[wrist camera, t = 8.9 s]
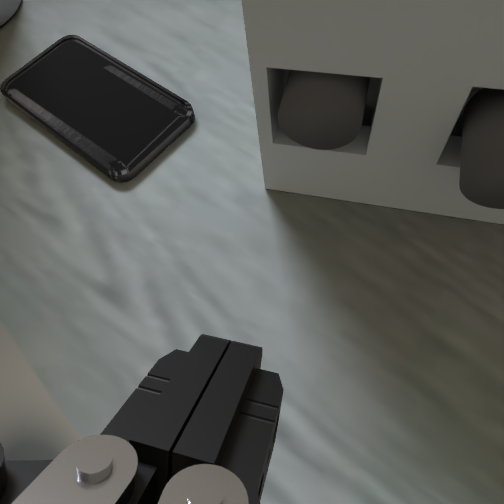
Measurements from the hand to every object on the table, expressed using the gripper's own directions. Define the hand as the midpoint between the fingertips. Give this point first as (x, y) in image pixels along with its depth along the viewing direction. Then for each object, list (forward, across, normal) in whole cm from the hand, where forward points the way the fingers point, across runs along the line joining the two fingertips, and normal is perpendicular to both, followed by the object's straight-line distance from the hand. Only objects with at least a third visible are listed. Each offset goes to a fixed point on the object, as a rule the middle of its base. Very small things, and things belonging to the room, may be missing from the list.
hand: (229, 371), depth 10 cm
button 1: (+16, 0, -5) cm, 17 cm away
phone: (+22, +18, -4) cm, 29 cm away
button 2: (+14, -9, -4) cm, 17 cm away
